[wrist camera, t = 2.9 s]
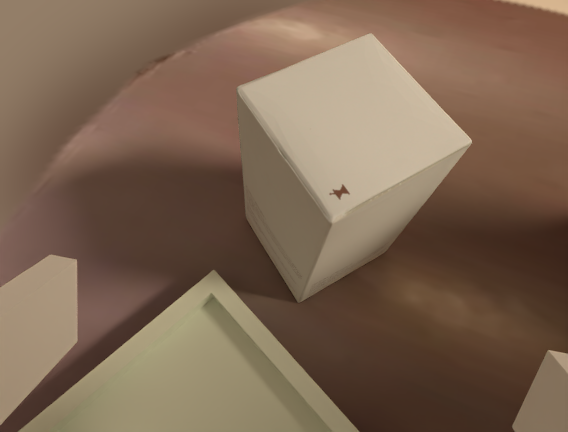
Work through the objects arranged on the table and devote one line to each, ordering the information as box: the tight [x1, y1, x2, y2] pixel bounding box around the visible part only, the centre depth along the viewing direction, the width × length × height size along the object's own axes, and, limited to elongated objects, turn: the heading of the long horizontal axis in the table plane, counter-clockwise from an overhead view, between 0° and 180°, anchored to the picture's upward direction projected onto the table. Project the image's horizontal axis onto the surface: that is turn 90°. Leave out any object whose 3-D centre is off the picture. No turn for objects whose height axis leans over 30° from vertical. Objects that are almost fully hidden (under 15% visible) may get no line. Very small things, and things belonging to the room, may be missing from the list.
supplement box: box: [236, 33, 472, 303], centre depth 22 cm, size 7×7×13 cm
